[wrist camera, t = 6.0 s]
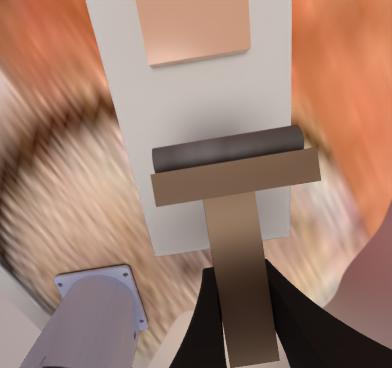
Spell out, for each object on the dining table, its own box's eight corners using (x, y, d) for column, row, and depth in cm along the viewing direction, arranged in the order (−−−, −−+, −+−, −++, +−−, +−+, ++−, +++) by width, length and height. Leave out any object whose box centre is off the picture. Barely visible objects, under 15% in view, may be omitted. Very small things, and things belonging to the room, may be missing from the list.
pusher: (282, 304, 15) (350, 412, 8) (196, 318, 15) (196, 435, 8) (258, 141, 14) (312, 116, 7) (168, 156, 14) (145, 143, 8)
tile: (250, 48, 14) (245, -72, 12) (148, 65, 14) (125, -52, 12) (244, 53, 16) (238, -53, 14) (152, 68, 16) (131, -35, 14)
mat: (288, 233, 22) (289, 236, 22) (155, 254, 22) (155, 257, 22) (289, -102, 13) (292, -108, 13) (70, -64, 13) (66, -69, 13)
